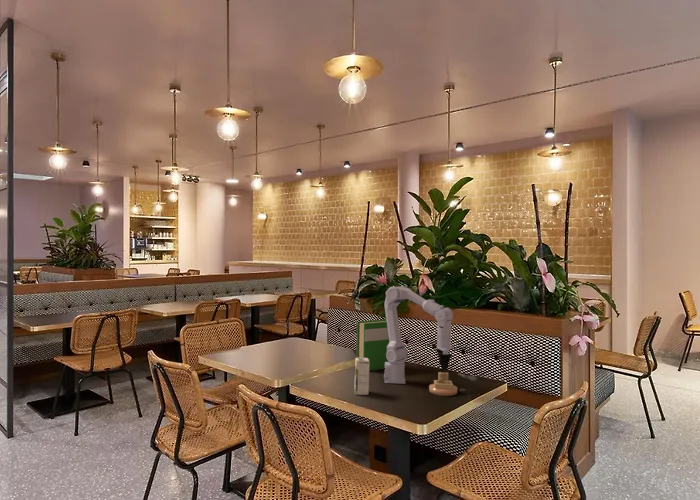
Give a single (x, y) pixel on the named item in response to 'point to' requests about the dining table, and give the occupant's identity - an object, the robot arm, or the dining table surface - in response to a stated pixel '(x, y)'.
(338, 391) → the dining table surface
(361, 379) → the syrup box
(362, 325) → the hardback book
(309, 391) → the dining table surface
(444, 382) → the tall wooden block
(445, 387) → the tan rounded piece
